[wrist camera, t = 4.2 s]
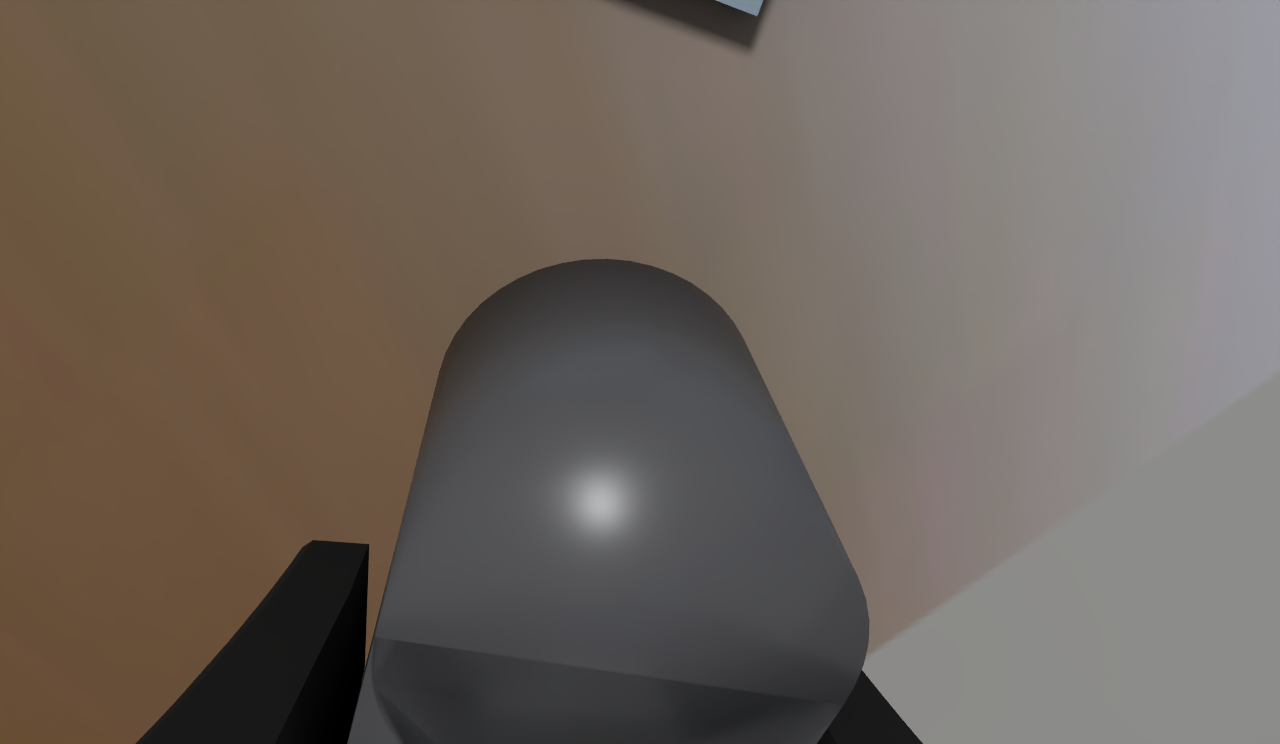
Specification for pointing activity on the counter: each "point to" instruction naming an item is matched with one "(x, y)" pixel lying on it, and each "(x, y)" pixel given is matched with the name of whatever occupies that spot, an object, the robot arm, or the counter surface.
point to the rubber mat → (745, 5)
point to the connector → (609, 536)
